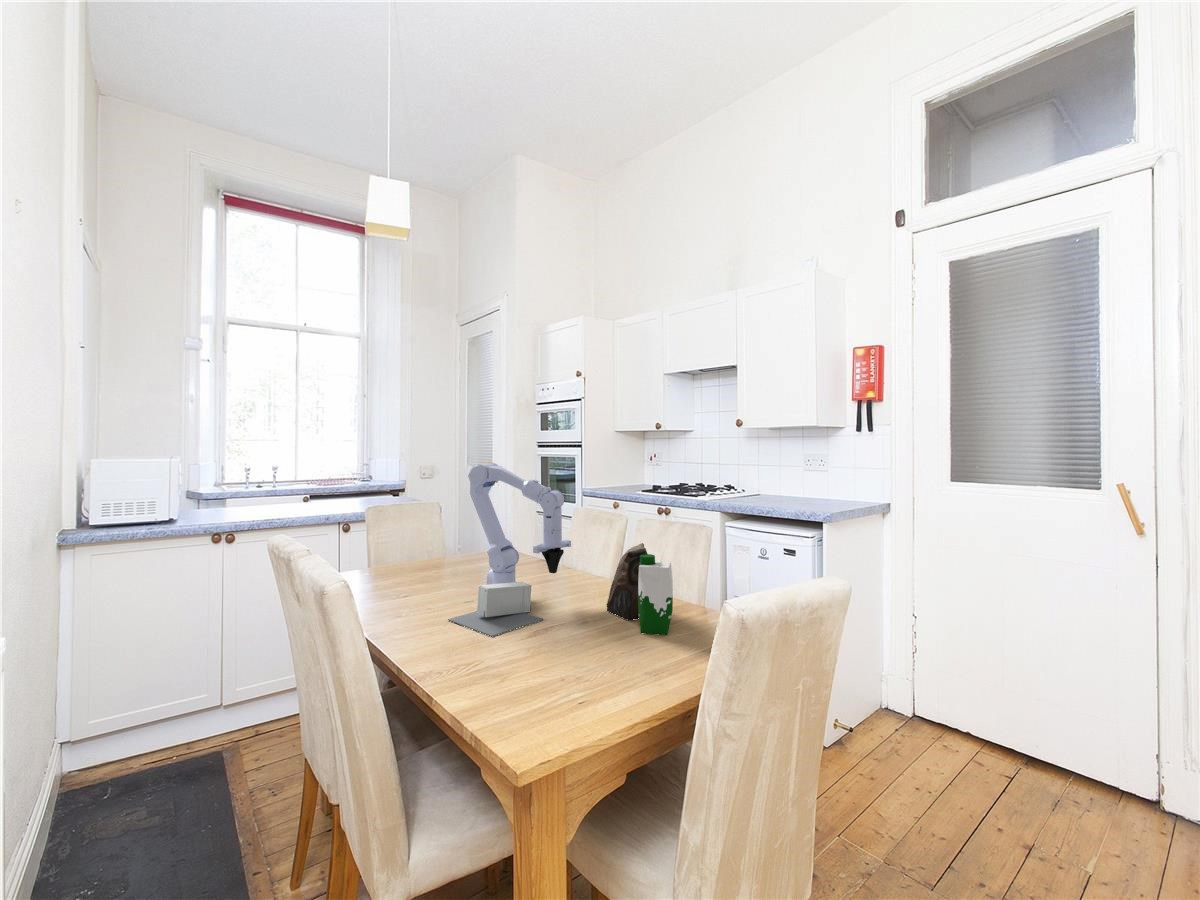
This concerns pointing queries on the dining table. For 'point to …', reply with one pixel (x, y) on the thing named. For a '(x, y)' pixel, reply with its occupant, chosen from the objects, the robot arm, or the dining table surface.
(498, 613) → the skincare box
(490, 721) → the dining table surface
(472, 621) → the mat
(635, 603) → the owl
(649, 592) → the milk carton
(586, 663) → the dining table surface
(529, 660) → the dining table surface
